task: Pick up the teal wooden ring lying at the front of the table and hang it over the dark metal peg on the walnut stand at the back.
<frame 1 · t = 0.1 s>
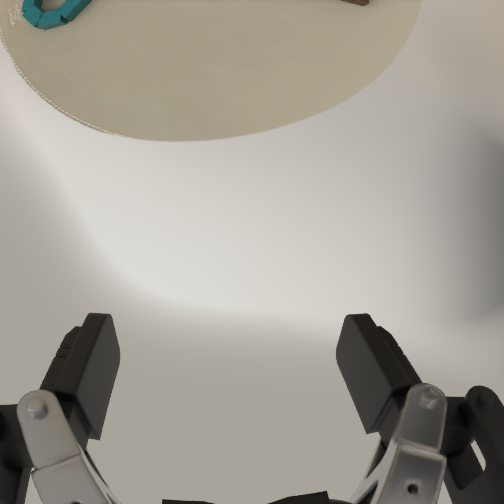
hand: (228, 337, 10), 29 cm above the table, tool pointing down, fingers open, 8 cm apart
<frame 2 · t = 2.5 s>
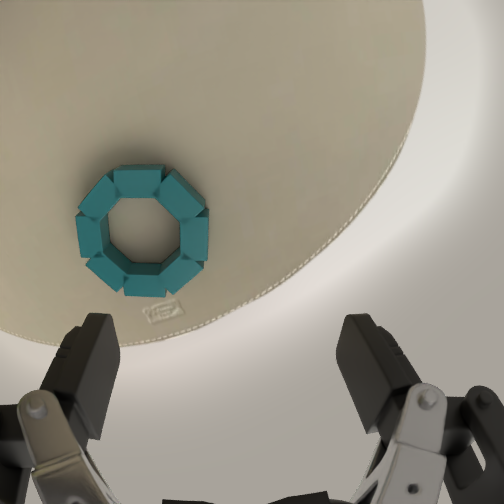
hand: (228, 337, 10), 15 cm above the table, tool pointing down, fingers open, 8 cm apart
ring: (144, 228, 24), on the table
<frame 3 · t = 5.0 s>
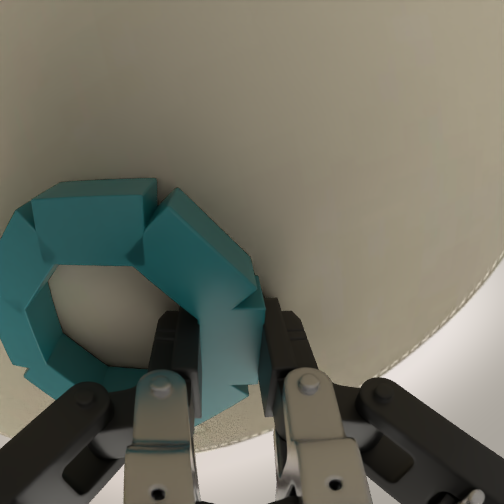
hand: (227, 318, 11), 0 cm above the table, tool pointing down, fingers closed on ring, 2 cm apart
ring: (122, 312, 11), on the table, touching gripper
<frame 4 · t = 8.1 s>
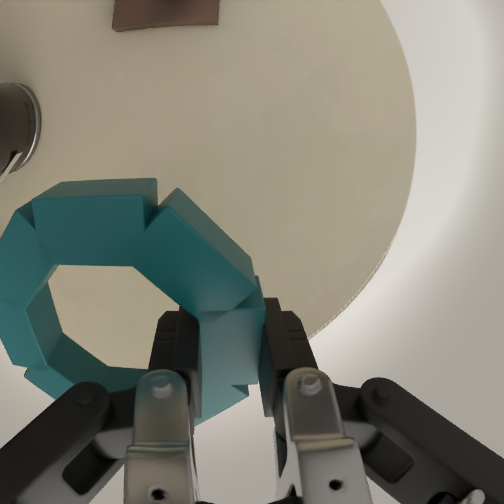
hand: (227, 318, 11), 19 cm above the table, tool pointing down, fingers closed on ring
ring: (122, 312, 11), point 19 cm above the table, touching gripper
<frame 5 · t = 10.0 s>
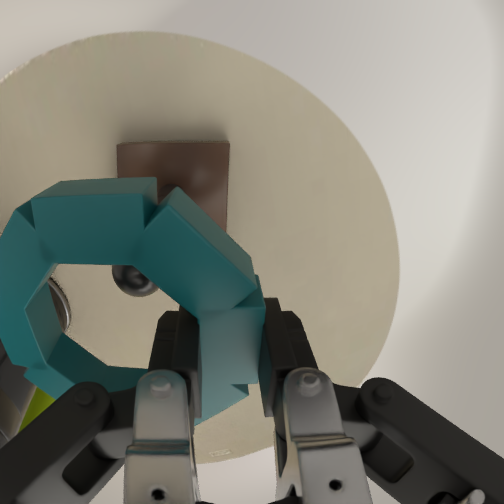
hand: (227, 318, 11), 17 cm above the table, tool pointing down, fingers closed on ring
peg stand: (173, 193, 26), on the table
ring: (122, 311, 11), point 17 cm above the table, touching gripper
vape: (42, 385, 35), on the table
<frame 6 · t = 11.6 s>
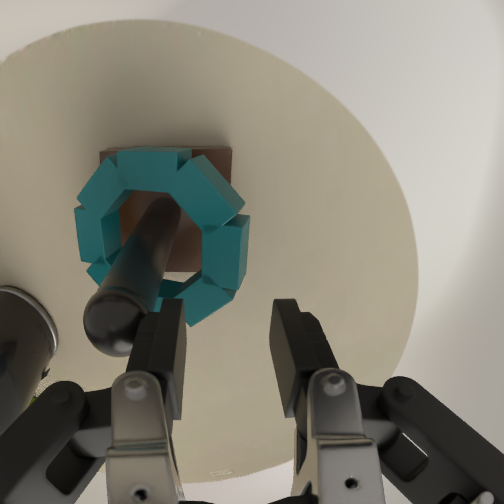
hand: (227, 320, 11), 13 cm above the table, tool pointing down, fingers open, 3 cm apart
peg stand: (167, 207, 23), on the table
ring: (163, 233, 18), point 5 cm above the table, tilted 16°
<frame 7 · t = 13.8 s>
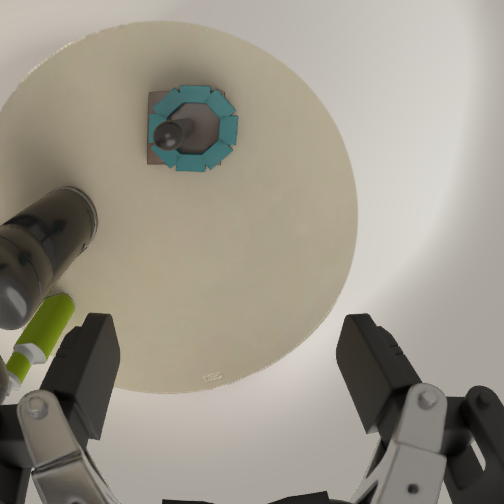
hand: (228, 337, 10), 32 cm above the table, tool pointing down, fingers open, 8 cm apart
peg stand: (185, 127, 36), on the table
ring: (193, 127, 35), point 1 cm above the table, touching peg stand
vape: (60, 303, 45), on the table
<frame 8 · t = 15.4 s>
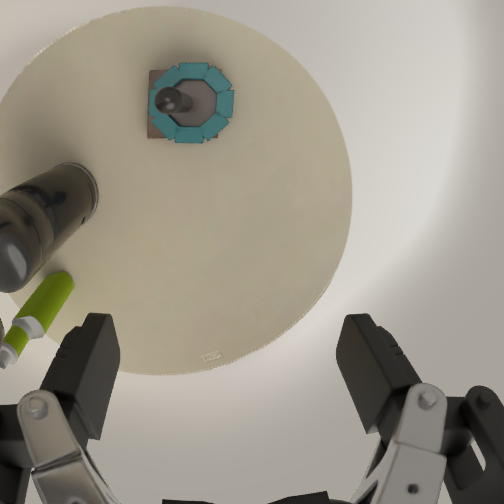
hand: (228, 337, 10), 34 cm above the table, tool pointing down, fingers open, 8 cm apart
peg stand: (184, 103, 37), on the table
ring: (192, 102, 36), point 1 cm above the table, touching peg stand
vape: (59, 282, 46), on the table
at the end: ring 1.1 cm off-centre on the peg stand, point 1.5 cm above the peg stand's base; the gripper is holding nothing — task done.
